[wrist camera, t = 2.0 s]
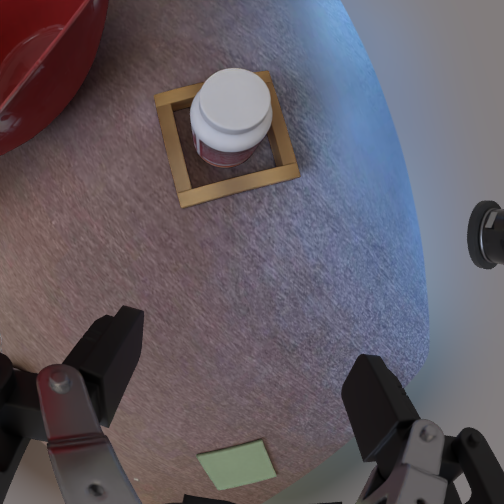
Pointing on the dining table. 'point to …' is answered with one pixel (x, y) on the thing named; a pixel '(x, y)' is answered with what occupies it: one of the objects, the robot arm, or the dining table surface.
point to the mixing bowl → (43, 61)
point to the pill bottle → (230, 117)
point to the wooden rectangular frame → (191, 197)
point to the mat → (237, 465)
